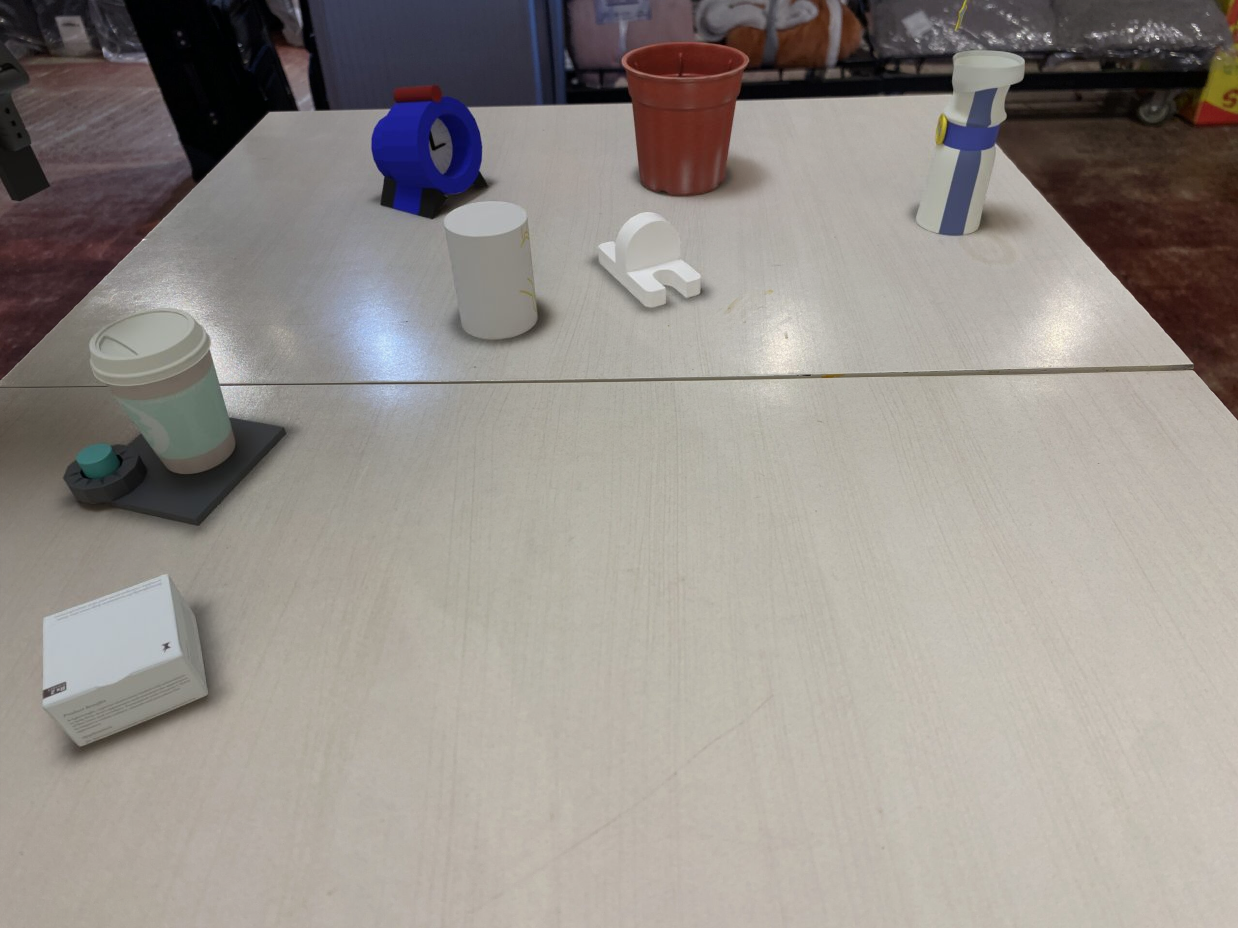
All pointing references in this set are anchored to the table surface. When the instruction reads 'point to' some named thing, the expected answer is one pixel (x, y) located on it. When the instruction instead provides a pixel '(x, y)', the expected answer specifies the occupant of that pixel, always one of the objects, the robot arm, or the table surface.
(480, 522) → the table surface
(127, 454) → the scale
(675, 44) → the flower pot
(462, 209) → the cup
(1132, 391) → the table surface
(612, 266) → the slotted bracket
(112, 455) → the button
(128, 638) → the small box
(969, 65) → the water bottle
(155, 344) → the coffee cup
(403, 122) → the alarm clock
